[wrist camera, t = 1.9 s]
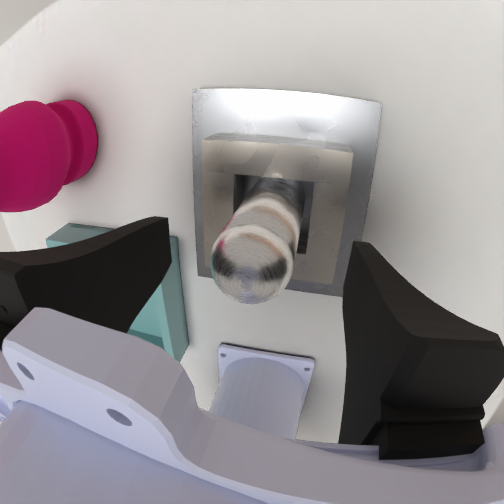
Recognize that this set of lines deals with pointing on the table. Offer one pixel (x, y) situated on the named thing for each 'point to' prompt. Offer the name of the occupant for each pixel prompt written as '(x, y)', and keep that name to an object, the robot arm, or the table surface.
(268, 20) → the table surface
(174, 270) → the tray
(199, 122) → the hitch plate
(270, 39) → the table surface
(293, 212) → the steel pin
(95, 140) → the pepper mill
